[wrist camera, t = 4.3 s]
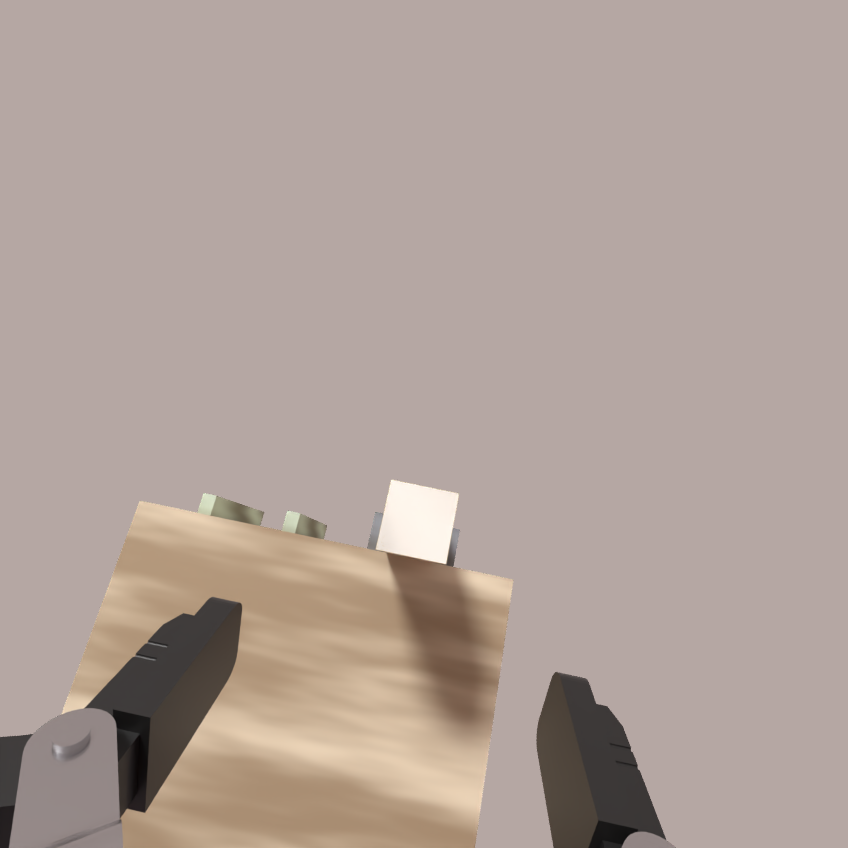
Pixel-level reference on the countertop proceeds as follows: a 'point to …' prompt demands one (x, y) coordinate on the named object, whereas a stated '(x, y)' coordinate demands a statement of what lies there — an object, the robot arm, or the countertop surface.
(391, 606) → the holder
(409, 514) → the white bar
